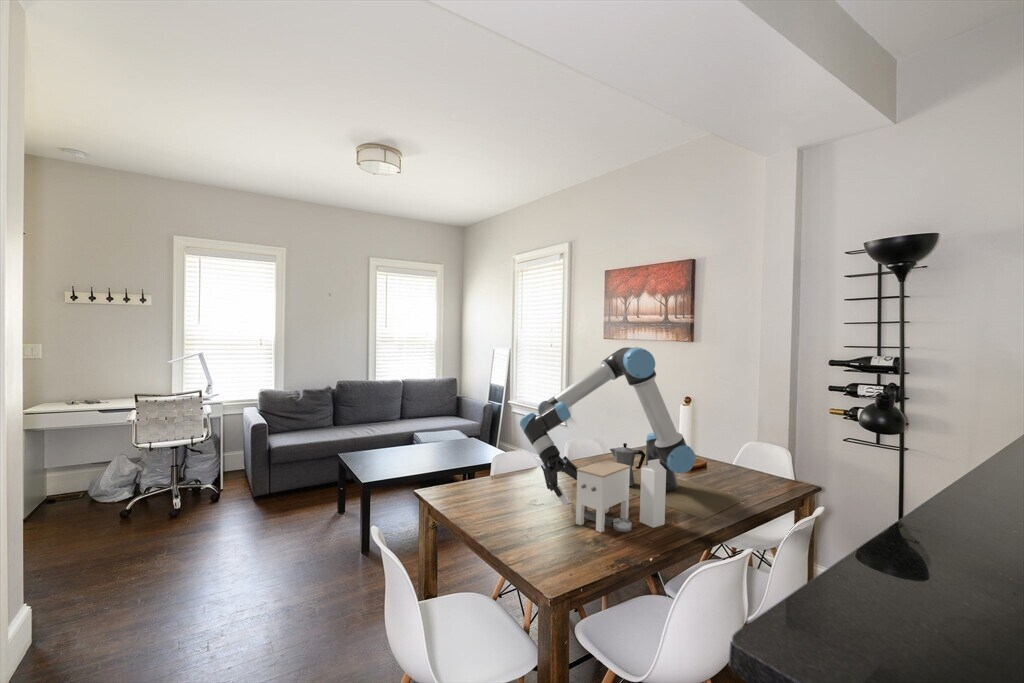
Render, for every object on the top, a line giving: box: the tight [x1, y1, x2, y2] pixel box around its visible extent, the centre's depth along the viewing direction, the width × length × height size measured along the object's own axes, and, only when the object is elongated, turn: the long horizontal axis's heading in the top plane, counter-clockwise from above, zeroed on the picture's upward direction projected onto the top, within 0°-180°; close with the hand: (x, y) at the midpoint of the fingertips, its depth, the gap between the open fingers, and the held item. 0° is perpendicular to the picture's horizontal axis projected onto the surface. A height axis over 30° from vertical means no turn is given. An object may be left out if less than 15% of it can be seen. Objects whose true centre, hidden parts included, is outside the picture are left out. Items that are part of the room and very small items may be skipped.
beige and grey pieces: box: [571, 481, 615, 528], centre depth 159 cm, size 4×16×11 cm, turn 47°
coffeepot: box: [609, 443, 646, 487], centre depth 200 cm, size 15×9×18 cm, turn 70°
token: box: [612, 517, 633, 533], centre depth 152 cm, size 6×6×2 cm
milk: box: [639, 459, 667, 529], centre depth 157 cm, size 6×6×22 cm
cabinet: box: [575, 459, 631, 533], centre depth 158 cm, size 19×10×19 cm, turn 137°
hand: (578, 499), depth 164 cm, fingers open, 13 cm apart
